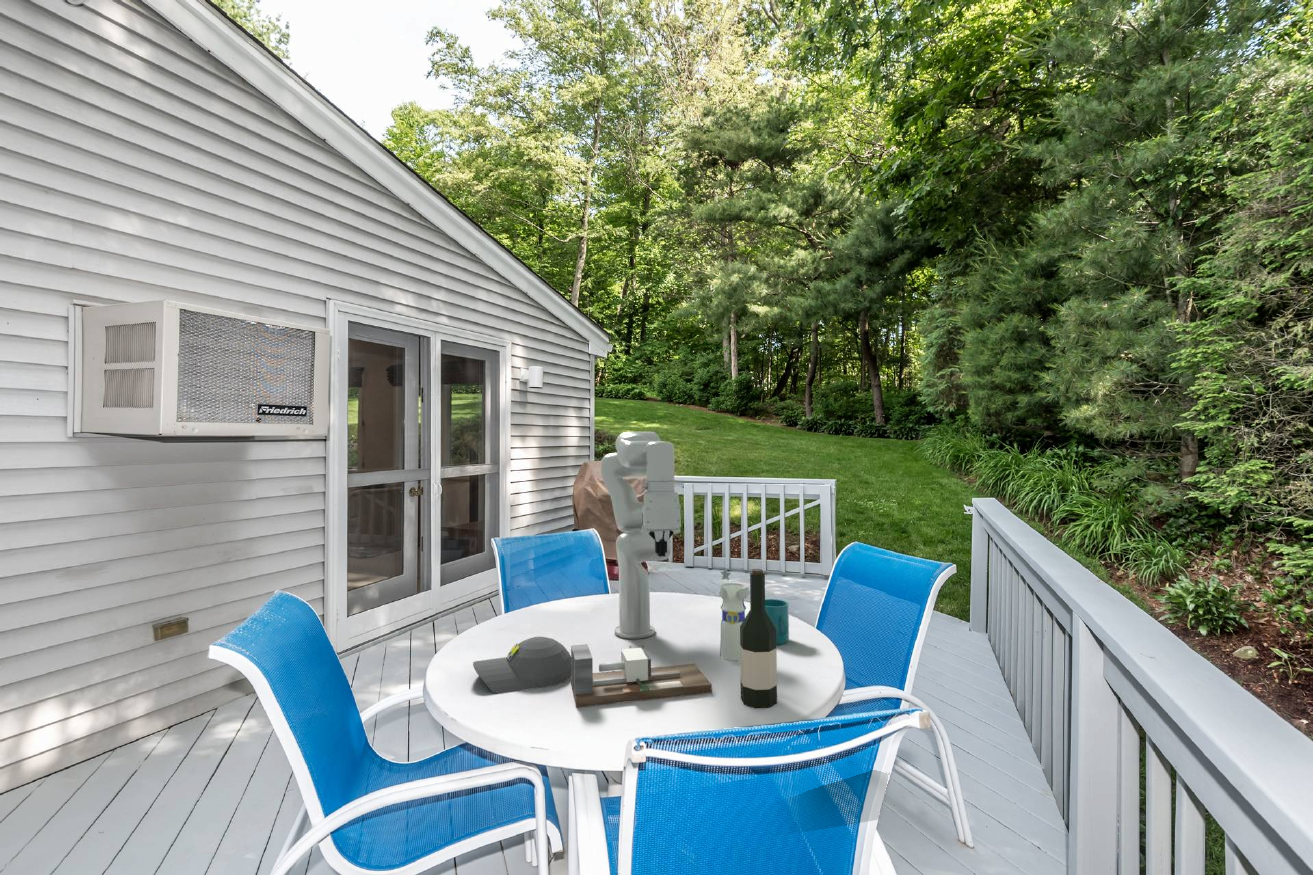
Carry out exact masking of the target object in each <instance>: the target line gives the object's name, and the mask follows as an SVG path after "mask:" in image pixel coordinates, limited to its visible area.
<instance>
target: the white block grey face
mask: <svg viewBox="0 0 1313 875" xmlns="http://www.w3.org/2000/svg"><path fill="white" fill-rule="evenodd" d="M620 651H621V652H620V654H621V656H620V660H621V661H615V662H614V661H612V662H605V663H603V662H602V663H598V673H600V672H611V671H621V670H622V672H623V674H624V677H625V679H626V681H627V682H634V681H636V682H637V684H638V685H641V682H640V681H644V680H648V676H651V668H652V658H651V657H650V655H649V654H648V652H647V651H646V650H643V649H642V647H637V648H636V647H635V648H634V647H633V648H624V649H623V648H622V649H621V650H620Z"/></svg>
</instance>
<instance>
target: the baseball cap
mask: <svg viewBox="0 0 1313 875" xmlns="http://www.w3.org/2000/svg"><path fill="white" fill-rule="evenodd" d="M472 667H473V669H474V670H475V672H476V674H477V675H478V676H479V677H480V679H481V680H482V681H483V683H484V684H485V685H486V686H487V687H488V688H489V689H490V691H492V692H493V693H495V694H497V695H499V694H507V693H512V692H520V691H526V690H533V689H539V688H540V689H541V688H547V687H552V686H557V685H559V684H562V683H564V682H566V681H569V680H571V653H570V651H568V649H567V648H566V647H565V646H564V645H563V643H561V642H559V641H557V640H556V639H554V638H552V637H551V638H550V637H546V636H533V637H530V638H526V639H525V640H522V641H521V642H519V643H516V644H514V645H513V647H512V648H511V649H510V651H509V652H508V654H507V656H506V657H504V656H503V657H498V658H490V659H489V658H488V659H481V660H474V661H472Z"/></svg>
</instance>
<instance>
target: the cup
mask: <svg viewBox="0 0 1313 875" xmlns="http://www.w3.org/2000/svg"><path fill="white" fill-rule="evenodd" d="M789 606H790V605H789V603H788V602H787V601H785V600H783V599H777V598H769V599H768V598H767V599H766V598H765V611H766V613H767V615H768V616H769V618H770V620H771V621H772V623H773V625H774V627H775V628H776V646H779V645H784V644H787V643H788V642H789V641H790V627H789V626H790V623H789V622H790V621H789V620H790V619H789V617H790V615H789V610H790V609H789Z"/></svg>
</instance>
